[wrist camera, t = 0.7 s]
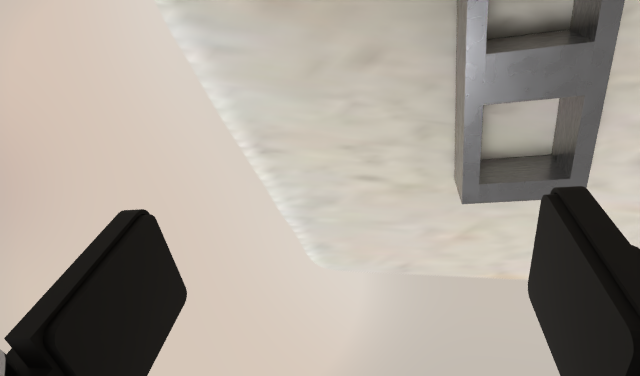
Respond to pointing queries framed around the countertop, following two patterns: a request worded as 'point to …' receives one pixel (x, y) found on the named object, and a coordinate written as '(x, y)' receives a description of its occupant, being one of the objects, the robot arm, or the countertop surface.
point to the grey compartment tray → (532, 98)
